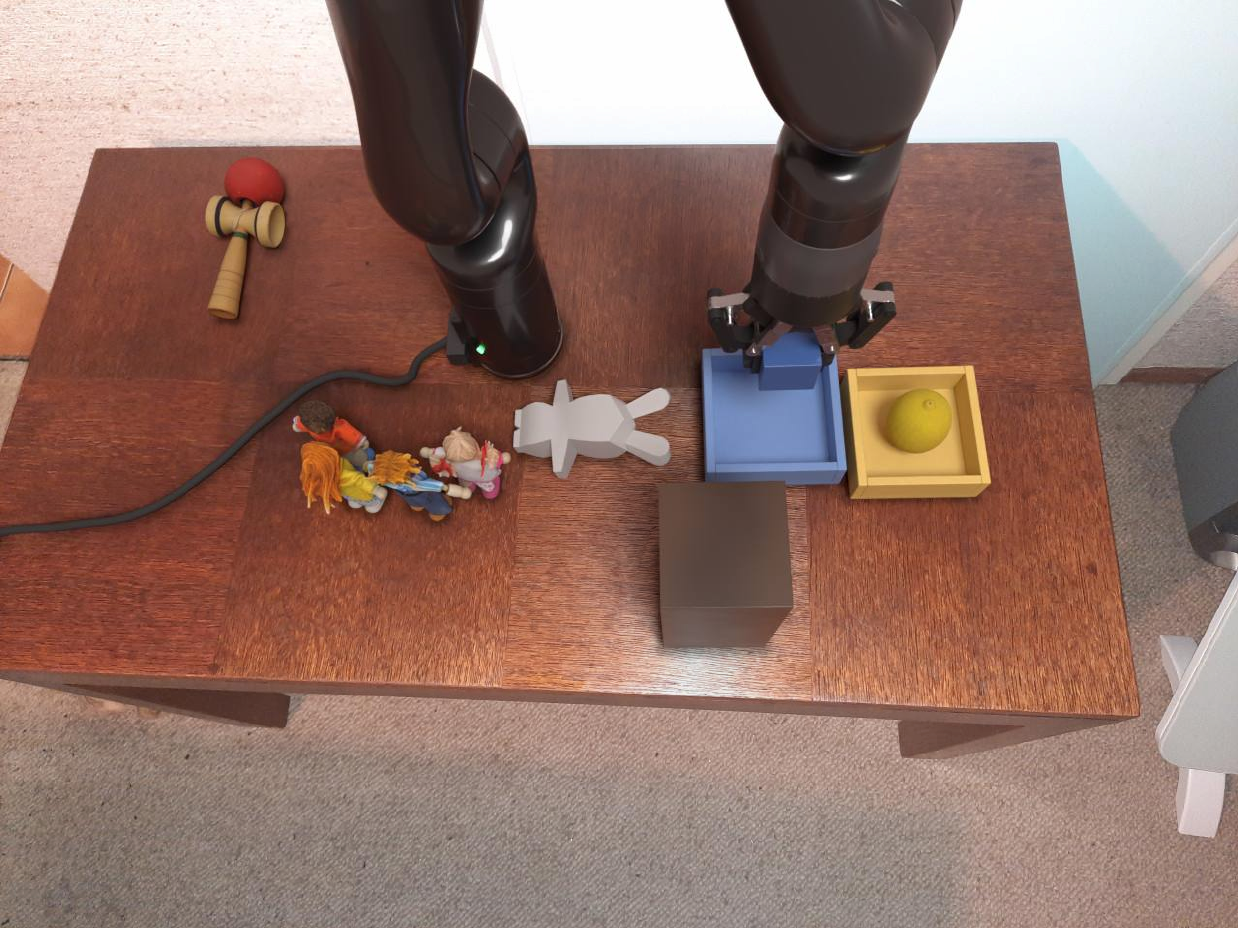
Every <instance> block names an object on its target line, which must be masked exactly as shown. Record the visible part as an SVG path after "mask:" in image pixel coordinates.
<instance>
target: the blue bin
mask: <svg viewBox="0 0 1238 928" xmlns="http://www.w3.org/2000/svg"><path fill="white" fill-rule="evenodd" d="M837 358H838V357H837V353H836V354H835V357H834V359H833V362H832V364H831V365H829V366H824V369H823V371H822V372H819V375H818V378H817V381H816V384H815V387H814V389H809V390H774V391H759V384H758V374H751V369H750V368H748V369H745V368H744V367H743V355H742V349H739V350H738V351H737V352H734V353H726V352H724V351H723V349H722V348H721V347H719V348H718V347H717V348H716V347H715V348H703V349H702V350H701V368H700V370H701V395H702V397H701V399H702V426H703V427H702V428H703V429H702V431H703V456H704V457H703V459H704V482H744V481H785V484H786V486H800V485H801V486H802V485H805V486H806V485H839V484H840V483H841V481H842V479H843V477H844V476H845V474H846V472H847V460H846V450H845V439H844V428H843V418H842V407H841V396H840V383H839V381H840V380H839V370H838V369H839V368H838V359H837Z"/></svg>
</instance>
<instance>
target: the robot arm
mask: <svg viewBox="0 0 1238 928" xmlns="http://www.w3.org/2000/svg"><path fill="white" fill-rule="evenodd" d="M324 1H325V5H326V9H327V12H328V16H329V19H330V22H331V26H332V29H333V34H334V36H335V40H336V43H337V47H338V50H339V54H340V57H341V61H342V63H343V66H344V71H345V74H346V77H347V81H348V85H349V89H350V93H351V96H352V102H353V106H354V112H355V117H356V123H357V130H358V135H359V143H360V149H361V154H362V159H363V165H364V172H365V175H366V178H367V181H368V184H369V188H370V189H371V192H372V194H373V195H374V197H375V199H376V201H377V202H378V204H379V206H380V207H381V208H382V209H383V211H384V212H385V214H387V216H388V217H389V218H390V219H391V221H393V222H394V223H395V224H397V226H398V227H400V228H401V229H402V230H403V231H405V232H406V233H407V234H408V235H410V236H412V237H413V238H415V239H418V240H419V241H421V242H423V244H424V247H425V250H426V253H427V255H428V258H429V259H430V262H431V264H432V266H433V269H434V270H435V272H436V274H437V276H438V279H439V280H440V282H441V285H442V286H443V288H444V290H445V292H446V294H447V296H448V298H449V301H450V303H451V304H450V312H449V313H448V319H447V320H448V321H447V333H446V336H445V337H443V338H441V339H439V340H437V341H435V342H434V343H432V344H430V345H429V346H427V347H425V348H424V349H423V350H421V351H420V352H419V353H418V354H417V355H416V356H415V357H414V358H413V360H412V361H411V365H410V367H409V369H408V372H407V373H406V374H404V375H401V376H397V377H386V376H380V375H375V374H372V373H368V372H363V371H358V370H352V369H351V370H349V369H342V370H340V369H339V370H335V371H330V372H327V373H324V374H321V375H319V376H317V377H314V378H312V379H310V380H308V381H306V382H305V383H304V384H303V385H301V386H299V387H298V388H296V389H295V390H293V392H291V393H290V394H289V395H288V396H287V397H285V398H284V399H283V400H281V401H280V402H279V403H278V404H277V405H275V406H274V407H273V408H272V409H270V410H269V411H268V412H266V413H265V414H264V415H263V416H261V417H260V418H259V419H258V420H257V421H255V423H253V424H252V425H251V426H249V428H247V430H245V431H244V433H242V434H241V435H240V436H239V437H238V438H237V439H236V440H235V441H234V442H233V443H232V444H231V445H230V446H229V447H228V448H226V449H225V450H224V451H223V452H222V453H221V454H220V455H219V456H218V457H217V458H215V459H214V460H213V461H212V462H211V463H209V464H208V465H207V466H205V467H204V468H203V469H201V470H200V471H198V473H196V474H195V475H194V476H192V477H190V478H189V479H188V480H186V481H185V482H184V483H183V484H181V485H179V486H178V487H176V488H175V489H174V490H172V491H170V492H169V493H168V494H166V495H164V496H163V497H161V498H159V499H157V500H155V501H153V502H151V503H149V504H147V505H145V506H142V507H140V508H137V509H134V510H132V511H131V510H130V511H128V512H125V513H121V514H117V515H111V516H110V515H109V516H103V517H95V518H86V519H77V520H71V521H64V522H54V523H53V522H52V523H37V524H35V523H34V524H18V525H7V526H4V527H0V538H2V537H4V536H10V535H19V534H36V533H55V532H64V531H72V530H79V529H87V528H96V527H105V526H114V525H118V524H122V523H126V522H131V521H134V520H137V519H140V518H142V517H145V516H148V515H150V514H152V513H155V512H157V511H159V510H160V509H162V508H164V507H166V506H168V505H170V504H172V503H173V502H175V501H176V500H178V499H180V498H181V497H182V496H184V495H185V494H187V493H188V492H189V491H191V490H192V489H194V488H195V487H196V486H197V485H199V484H201V482H203V481H204V480H205V479H207V478H208V477H210V475H212V474H214V473H215V472H216V471H217V470H219V469H220V468H221V467H222V466H223V465H225V464H226V463H227V462H228V461H229V460H230V459H232V458H233V456H235V455H236V454H237V453H238V452H239V451H240V450H241V449H242V448H243V447H244V446H245V445H246V444H247V443H248V442H249V441H250V440H251V439H253V437H254V436H255V435H256V434H257V433H259V432H260V431H261V430H262V429H264V427H266V426H267V425H268V424H269V423H271V422H272V421H273V420H274V419H276V418H277V417H279V415H281V414H282V413H283V412H284V411H286V410H287V409H288V408H289V407H291V406H292V405H293V404H295V402H297V401H298V400H299V399H300V398H301V397H303V396H304V395H305V394H307V393H309V392H310V391H312V390H313V389H315V388H318V387H319V386H321V385H323V384H326V383H328V382H331V381H336V380H341V379H352V380H359V381H365V382H368V383H372V384H375V385H380V386H388V387H399V386H404V385H406V384H409V383H411V382H412V381H414V380H415V378H416V377H417V375H418V373H419V369H420V367H421V364H423V362H424V361H425V360H426V359H428V358H429V357H431V356H432V355H434V354H435V353H437V352H439V351H440V350H442V349H444V348H445V355H446V356H445V357H446V358H447V360H448V361H449V363H450V365H451V366H459V365H460V366H461V365H463V366H464V365H470V363H471V366H472V367H473V368H483V369H484V370H485V371H487V372H488V373H490V374H491V375H493V376H495V377H497V378H500V379H503V380H509V381H522V380H527V379H530V378H534V377H536V376H538V375H540V374H542V373H543V372H545V371H546V370H548V369H549V368H550V367H551V366H552V365H553V364H554V362H555V361H557V358H558V357H559V355H560V353H561V351H562V348H563V346H564V345H563V343H564V329H563V324H562V321H561V318H560V316H559V315H560V314H559V308H558V301H557V299H555V298H557V294H556V293H557V292H553V291H556V290H555V289H556V288H554V289H553V290H552V285H551V281H550V279H549V274H548V271H547V270H548V269H547V266H546V262H545V258H544V255H543V251H542V247H541V243H540V239H539V236H538V231H537V228H536V221H537V214H538V205H539V204H538V201H539V200H538V190H537V189H538V188H537V183H536V179H535V178H536V177H535V172H534V166H533V159H532V156H531V150H530V149H531V148H530V145H529V139H528V136H527V131H526V129H525V127H524V123H523V120H522V118H521V116H520V113H519V112H518V109H517V107H516V106H515V104H514V103H513V101H512V100H511V99H510V97H509V96H508V95H507V93H505V91H504V90H503V89H502V88H501V87H500V86H499V85H498V84H497V83H496V82H495V81H494V80H492V79H491V78H490V77H488V76H487V75H485V74H484V73H482V72H481V71H479V70H478V69H476V68H474V65H475V58H476V53H477V48H478V42H479V36H480V30H481V25H482V18H483V11H484V5H485V0H324ZM723 1H724V3H725V6H726V8H727V9H726V10H727V11H728V13H729V16H730V18H731V20H732V23H733V25H734V27H735V29H736V32H737V35H738V37H739V40H740V43H741V45H742V47H743V49H744V52H745V54H746V57H747V59H748V62H749V64H750V67H751V69H752V72H753V74H754V76H755V78H756V80H757V82H758V85H759V87H760V89H761V91H762V93H763V95H764V97H765V98H766V99H767V102H768V103H769V104H770V107H771V108H772V109H773V111H774V112H775V113H776V115H777V116H778V117H779V119H780V120H782V122H783V124H782V127H781V129H780V131H779V134H778V137H777V140H776V143H775V145H774V146H775V147H774V150H773V156H772V160H771V167H770V173H769V181H768V186H767V193H766V196H765V199H764V201H763V204H762V206H761V210H760V213H759V214H760V215H759V220H758V227H757V232H756V234H757V235H756V241H755V248H754V255H753V261H752V262H753V263H752V269H751V276H750V280H749V281H748V282H747V283H746V284H745V285H743V287H742V289H741V292H737V293H731V294H725V292H724V290H723V289H722V288H720V287H711V288H709V289H707V290H706V312H707V323H708V325H709V327H710V329H711V331H712V332H713V335H714V336H715V338H716V340H717V342H718V344H719V346H720V348H722V349H723V351H724V352H726V353H734V352H737V351H738V350H739V349H742V355H743V367H744V368H745V369H748V368H750V369H751V374H759V371H760V366H761V361H762V356H763V354H762V351H763V350H764V349H765V348H766V347H767V346H768V347H772V346H773V345H774V344H775V343H776V342H777V340H778V339H779V338H780V337H781V336H782V335H783V334H784V333H792V332H805V333H816V336H817V339H818V341H819V344H820V348H821V359H822V366H821V369H820V372H822V371H823V369H824V366H829V365H831V364H832V362H833V359H834V357H835V354H836V355H837V353H838V352H840V349H841V347H844V346H848V348H849V349H851V350H859V349H862V348H864V347H865V346H866V345H867V344H869V342H870V341H871V340H873V339H874V337H876V336H877V334H879V333H880V331H882V330H883V329H884V328H885V327H886V326H888V324H889V323H890V322H891V321H892V320H893V319H895V317H896V316H897V306H896V298H895V291H894V290H895V289H894V283H893V282H892V281H887V280H886V281H881V282H879V283H877V284H876V285H875V286H874V287H873V288H872V289H869V288H863V287H864V285H865V281H866V279H867V277H868V274H869V271H870V269H871V266H872V264H873V260H874V259H875V258H876V256H877V254H878V251H879V249H880V245H881V242H880V241H881V237H882V234H883V230H884V221H885V216H886V213H887V211H888V208H889V205H890V203H891V200H892V197H893V194H894V192H895V190H896V186H897V183H898V180H899V176H900V174H901V168H902V163H903V159H904V156H905V152H906V149H907V143H908V141H909V136H910V133H911V131H912V128H913V126H914V123H915V121H916V119H917V118H918V116H919V115H920V113H921V111H922V109H923V107H924V105H925V103H926V101H927V98H928V96H929V93H930V91H931V88H932V85H933V83H934V80H935V78H936V76H937V73H938V70H939V69H940V64H942V60H943V59H944V55H945V53H946V50H947V49H948V45H949V42H950V40H951V38H952V35H953V34H954V31H955V29H956V26H957V23H958V20H959V18H960V15H961V12H962V8H963V4H964V3H963V2H964V0H723ZM554 296H555V298H554ZM741 311H743V312H744V313H745V314H746V315H748V316H749V318H748V319H747V320H746V322H745V323H744V324H743V325H742V324H738V320H737V318H738V316H739V313H740V312H741ZM843 319H845V321H842V322H840V321H841V320H843Z"/></svg>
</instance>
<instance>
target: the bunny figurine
mask: <svg viewBox="0 0 1238 928" xmlns="http://www.w3.org/2000/svg"><path fill="white" fill-rule="evenodd" d="M671 398H672V395H671V393H670V391H669V390H668V389H665V388H663V387H658V388H654V389H652V390H651V391H649V392H646V393H645V394H643V395H642V396H639V397H638V398H636V399H634V400H632V401H630V402H629V403H626V402H624V401H622V400H621V399H619V398H617V397H616V396H614V395H613V394H608V393H607V394H606V393H605V394H604V393H597V394H589V395H585V396H580V397H578V398H575V399H574V395H573V393H572V389H571V387H570V385H569V383H568V381H567V379H565V378H564V379H560V380H557V383H556V386H555V392H554V396H553V402H552V405H551V404H548V403H546V402H543V401H534V402H532V403H528V404H526V405H525V406H524V407H523V408H522V409H515V413H514V414H515V415H514V426H515V428H516V430H514V432H513V444H512V445H513V446H512V447H513V449H514V450H515V452H517V454H519V453H520V454H521V453H524V454H527V455H530V456H533V457H537V458H542V459H545V458H549V457H550V458H551V460H552V471H553V472H552V473H554V475H555V476H556V477H557V478H558V479H564V480H567V479H568V477H569V475H570V473H571V470H572V467H573V465H574V462H575V460H576V458H577V455H578V454H579V455H581V456H584V457H587V458H593V459H614V458H618V457H620V456H621V455H623V454H625V453H626V452H628V453H630V454H632V455H634V456H636V457H638V458H640V459H642V460H644V461H646V462H648V463H649V464H651V465H653V466H659V467H664V465H666V464H669V462H670V460H671V457H672V453H671V447H670V443H669V441H668V439H666V438H665V437H663V436H662V435H656V434H653V433H648V432H644V431H640V430H636V426H637V424H636V420H635V419H637V418H640V417H643V416H646V415H650V414H652V413H656V412H658V411H662V410H663V409H665V408H666V407H667V406H668V405H669V404H670V402H671V400H672V399H671Z"/></svg>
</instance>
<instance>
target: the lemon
mask: <svg viewBox="0 0 1238 928" xmlns="http://www.w3.org/2000/svg"><path fill="white" fill-rule="evenodd" d="M951 423H952V411H951V408H950V405H949V403H948V402H947V400H946V399H945V398H944V397H943V396H942V395H941V394H940V393H938V392H936V391H934V390H930V389H923V388H919V389H914V390H911V391H909V392H906V393H904V394H903V395H901V396H900V397H899V398H898V399H897V400H895V401H894V403H893V404H892V406H891V407H890V409H889V411H888V414H887V417H886V430H887V434H888V436H889V438H890V440H891V442H892V443H893V444H894V445H895V446H896V447H898V448H899V449H901V450H903V451H905V452H908V453H915V454H916V453H924V452H927V451H930V450H932V449H934V448H935V447H937V446H938V445H940V444H941V443H942V441H943V440H944V439H945V438H946V437H947V435H948V433H949V430H950V428H951Z"/></svg>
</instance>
